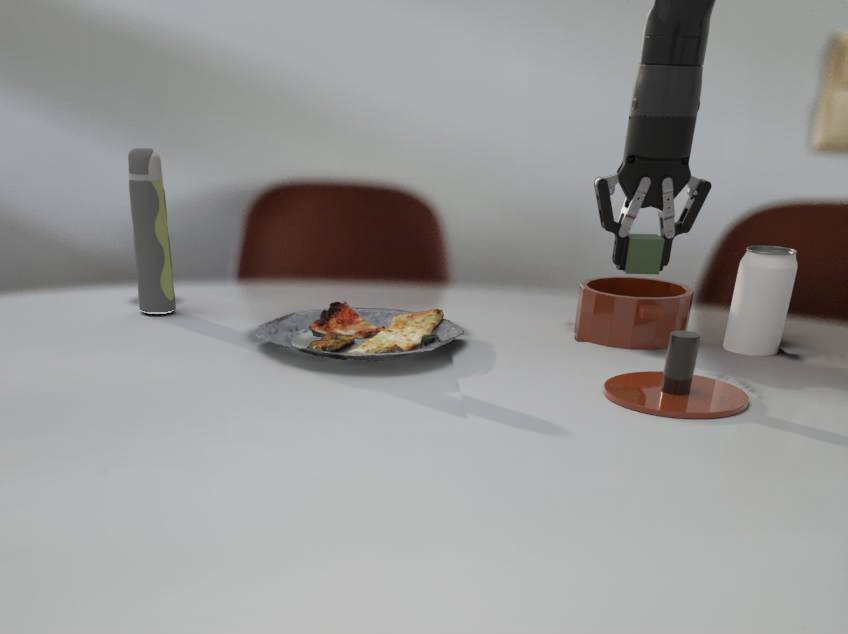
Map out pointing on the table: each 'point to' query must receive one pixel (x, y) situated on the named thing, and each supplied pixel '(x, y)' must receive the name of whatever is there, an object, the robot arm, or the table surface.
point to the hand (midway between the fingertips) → (638, 268)
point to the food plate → (363, 332)
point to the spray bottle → (150, 231)
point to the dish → (631, 312)
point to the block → (644, 254)
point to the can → (760, 300)
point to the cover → (677, 386)
